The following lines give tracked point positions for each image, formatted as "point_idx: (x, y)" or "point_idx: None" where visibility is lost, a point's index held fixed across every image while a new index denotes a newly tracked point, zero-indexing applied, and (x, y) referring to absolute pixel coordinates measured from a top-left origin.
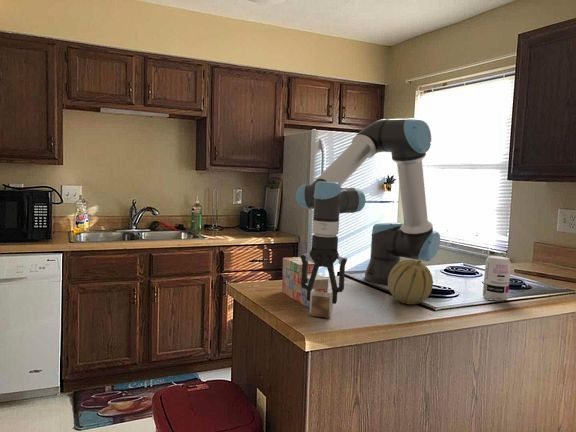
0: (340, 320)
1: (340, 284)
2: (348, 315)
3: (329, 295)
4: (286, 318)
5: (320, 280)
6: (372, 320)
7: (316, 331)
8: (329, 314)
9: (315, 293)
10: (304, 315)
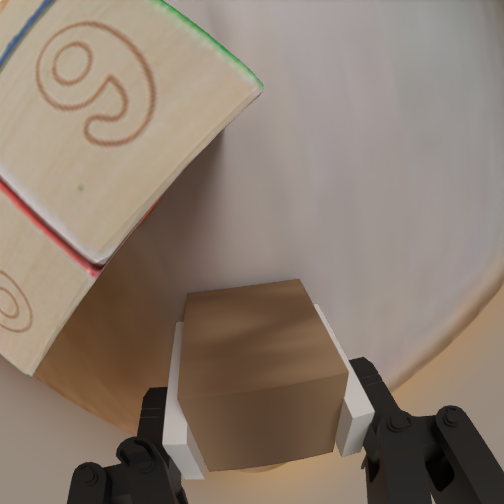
0: (357, 330)
1: (441, 488)
2: (393, 231)
3: (332, 427)
4: (121, 411)
5: (111, 257)
6: (479, 249)
7: None
8: None
9: (209, 440)
10: (162, 354)
